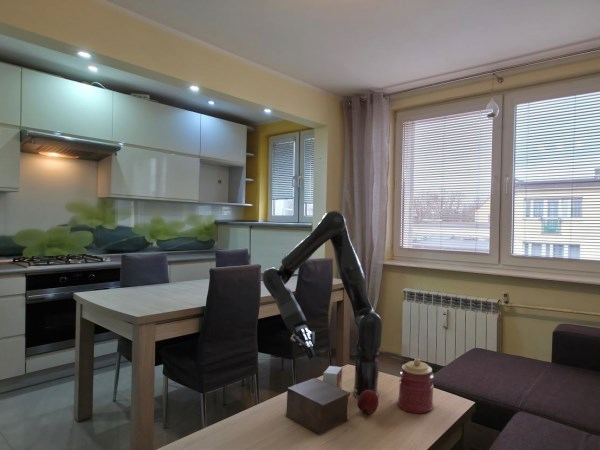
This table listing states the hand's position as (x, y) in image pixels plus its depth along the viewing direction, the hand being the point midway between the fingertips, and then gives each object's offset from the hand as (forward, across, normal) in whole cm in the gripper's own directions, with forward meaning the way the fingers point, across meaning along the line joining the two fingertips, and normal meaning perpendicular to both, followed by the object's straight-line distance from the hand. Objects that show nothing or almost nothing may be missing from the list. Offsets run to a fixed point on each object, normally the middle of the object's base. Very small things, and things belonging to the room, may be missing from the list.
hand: (313, 358), depth 134 cm
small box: (+14, +16, +11) cm, 24 cm away
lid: (+11, -2, +3) cm, 12 cm away
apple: (+25, +12, -2) cm, 28 cm away
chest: (+18, 0, +9) cm, 20 cm away
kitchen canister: (+32, +26, -13) cm, 44 cm away
